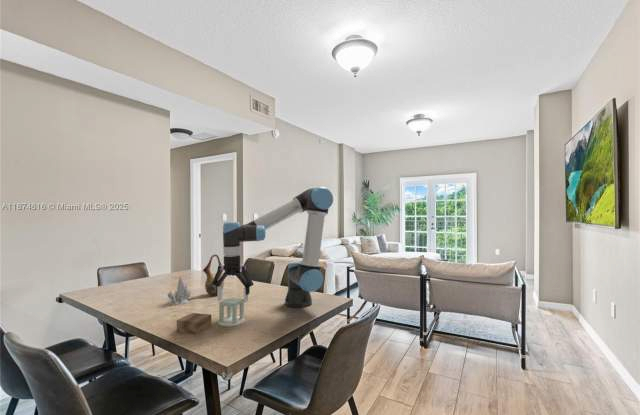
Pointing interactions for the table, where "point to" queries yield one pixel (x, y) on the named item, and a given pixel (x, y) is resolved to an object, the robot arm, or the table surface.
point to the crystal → (179, 294)
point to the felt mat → (228, 321)
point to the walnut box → (194, 323)
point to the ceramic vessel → (211, 278)
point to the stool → (232, 303)
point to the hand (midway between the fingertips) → (232, 300)
